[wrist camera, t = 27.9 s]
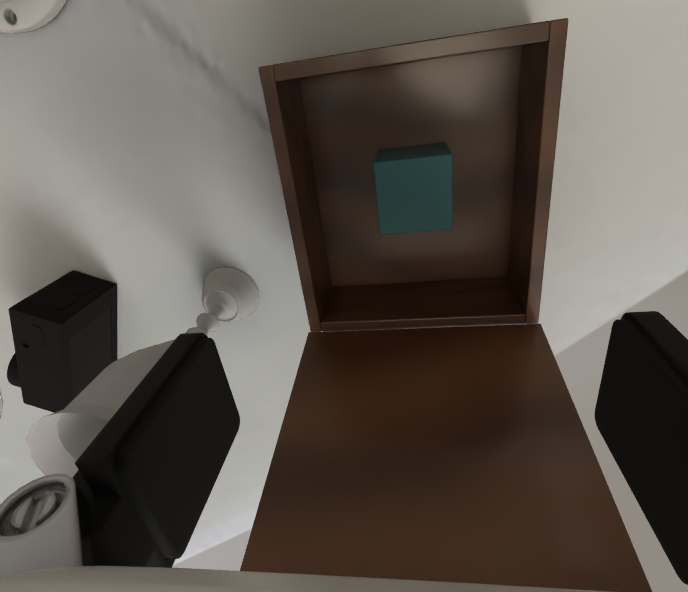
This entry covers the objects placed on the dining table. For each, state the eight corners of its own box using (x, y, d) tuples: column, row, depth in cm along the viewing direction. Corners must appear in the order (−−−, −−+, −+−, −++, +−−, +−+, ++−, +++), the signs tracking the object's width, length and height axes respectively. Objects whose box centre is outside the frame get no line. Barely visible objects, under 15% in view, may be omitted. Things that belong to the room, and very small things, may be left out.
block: (383, 214, 30) (379, 235, 26) (378, 149, 28) (372, 162, 24) (447, 208, 29) (453, 229, 26) (446, 141, 27) (452, 153, 23)
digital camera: (59, 264, 37) (-9, 302, 31) (117, 282, 37) (60, 324, 31) (66, 352, 42) (8, 400, 36) (117, 368, 43) (68, 418, 36)
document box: (288, 67, 27) (257, 66, 22) (533, 28, 25) (568, 17, 19) (325, 291, 35) (310, 332, 29) (516, 280, 32) (538, 324, 27)
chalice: (257, 250, 34) (128, 406, 18) (281, 321, 37) (188, 506, 21) (178, 264, 36) (-2, 418, 20) (207, 330, 39) (71, 509, 23)
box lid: (216, 647, 15) (256, 690, 18) (698, 700, 12) (649, 740, 15) (308, 332, 29) (322, 386, 32) (540, 323, 26) (531, 383, 29)
